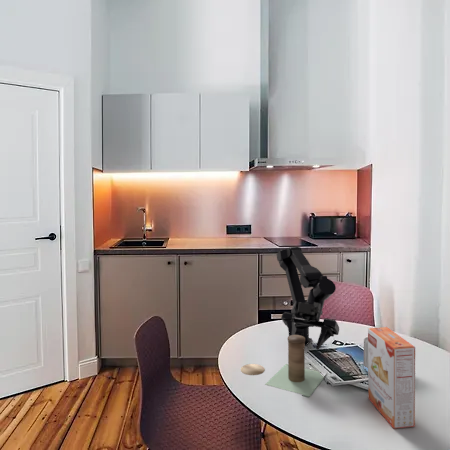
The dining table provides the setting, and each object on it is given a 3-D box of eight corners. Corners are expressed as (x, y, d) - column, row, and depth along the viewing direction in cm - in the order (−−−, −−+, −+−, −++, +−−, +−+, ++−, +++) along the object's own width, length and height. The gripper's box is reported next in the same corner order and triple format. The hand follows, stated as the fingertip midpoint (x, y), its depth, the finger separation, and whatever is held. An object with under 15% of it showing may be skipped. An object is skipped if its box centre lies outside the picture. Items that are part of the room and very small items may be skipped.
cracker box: (366, 399, 109) (366, 327, 108) (387, 398, 110) (387, 325, 108) (392, 429, 95) (392, 347, 94) (415, 428, 96) (416, 345, 94)
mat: (286, 365, 132) (286, 363, 132) (326, 374, 125) (326, 373, 125) (265, 385, 119) (264, 384, 119) (309, 397, 111) (309, 396, 111)
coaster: (247, 363, 134) (247, 362, 134) (268, 368, 130) (268, 367, 130) (236, 372, 128) (236, 371, 128) (257, 378, 124) (257, 377, 123)
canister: (291, 372, 126) (291, 333, 124) (307, 376, 123) (307, 336, 122) (284, 379, 121) (284, 339, 120) (301, 384, 118) (301, 342, 117)
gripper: (282, 289, 135) (269, 330, 126) (336, 295, 125) (325, 341, 116) (292, 305, 142) (279, 345, 134) (343, 312, 132) (333, 356, 124)
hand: (303, 346), depth 127 cm, fingers open, 9 cm apart
